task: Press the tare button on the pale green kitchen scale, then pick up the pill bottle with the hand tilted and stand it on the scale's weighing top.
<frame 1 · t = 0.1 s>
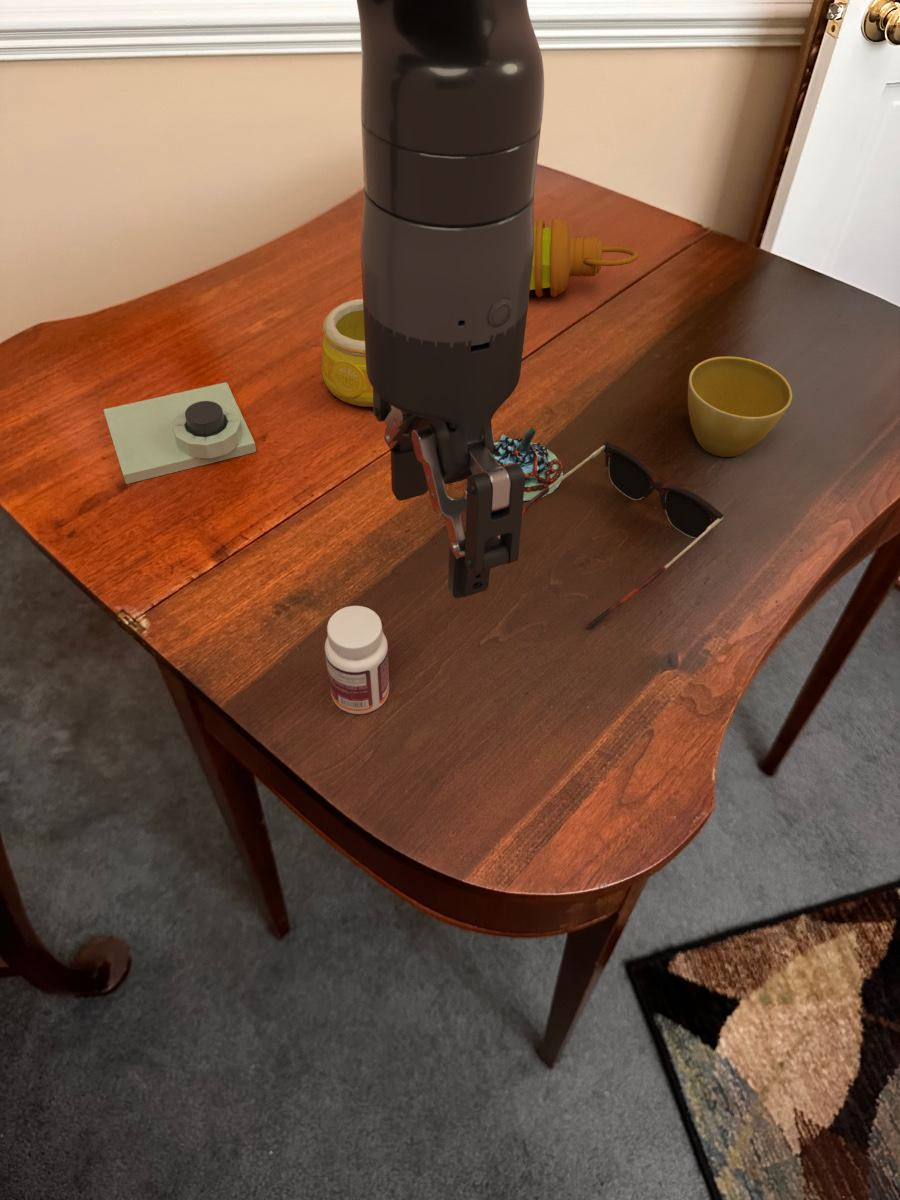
hand: (437, 540, 51), 21 cm above the table, tool pointing down, fingers open, 8 cm apart
tare button: (205, 419, 86), point 3 cm above the table, slide at 0.1 cm
pill bottle: (359, 692, 70), on the table
sunglasses: (600, 553, 81), on the table
plumb bob: (530, 292, 110), on the table
flower pot: (720, 443, 92), on the table
scale: (180, 435, 90), on the table
dish: (518, 472, 88), on the table
mug: (379, 389, 96), on the table
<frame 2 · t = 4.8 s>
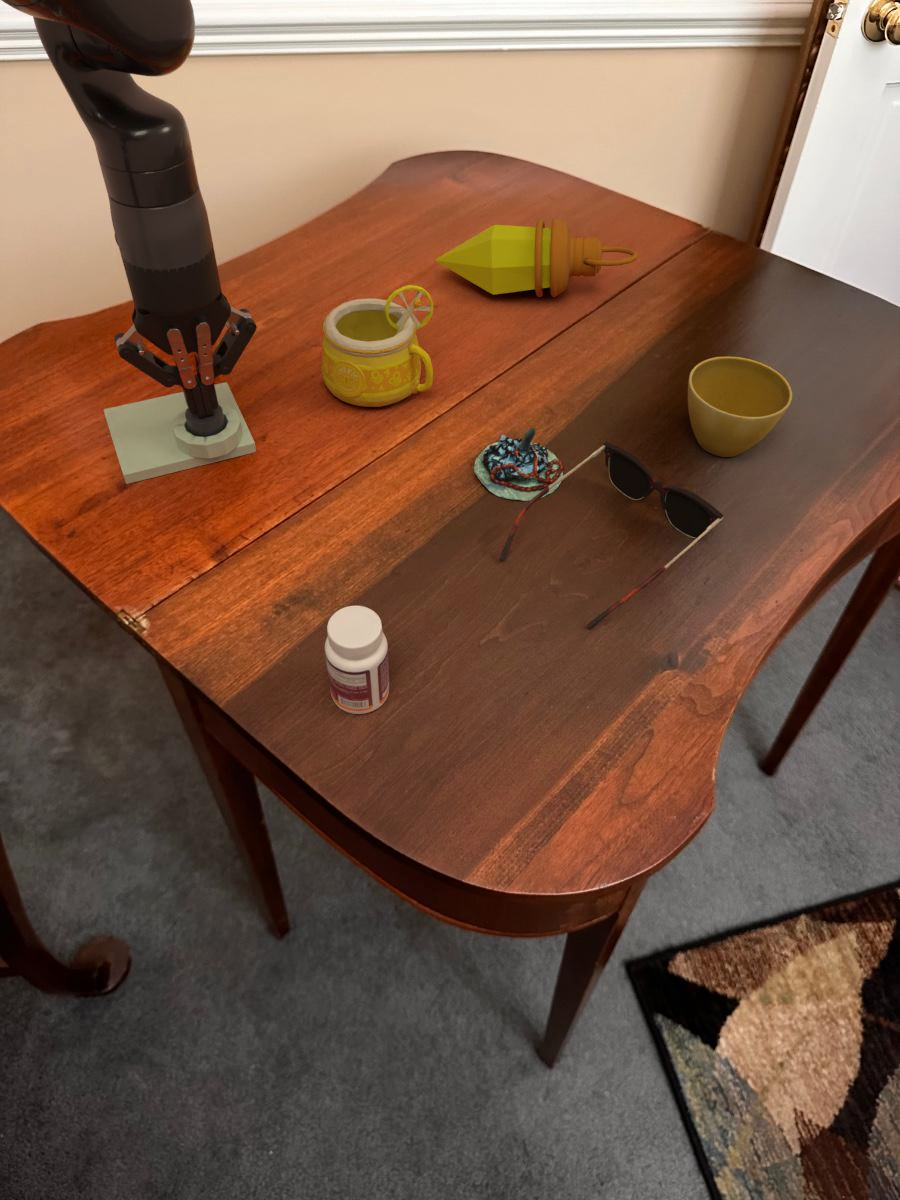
hand: (204, 411, 85), 4 cm above the table, tool pointing down, fingers closed
tare button: (205, 419, 86), point 3 cm above the table, slide at 0.1 cm, touching gripper
everything else where it was.
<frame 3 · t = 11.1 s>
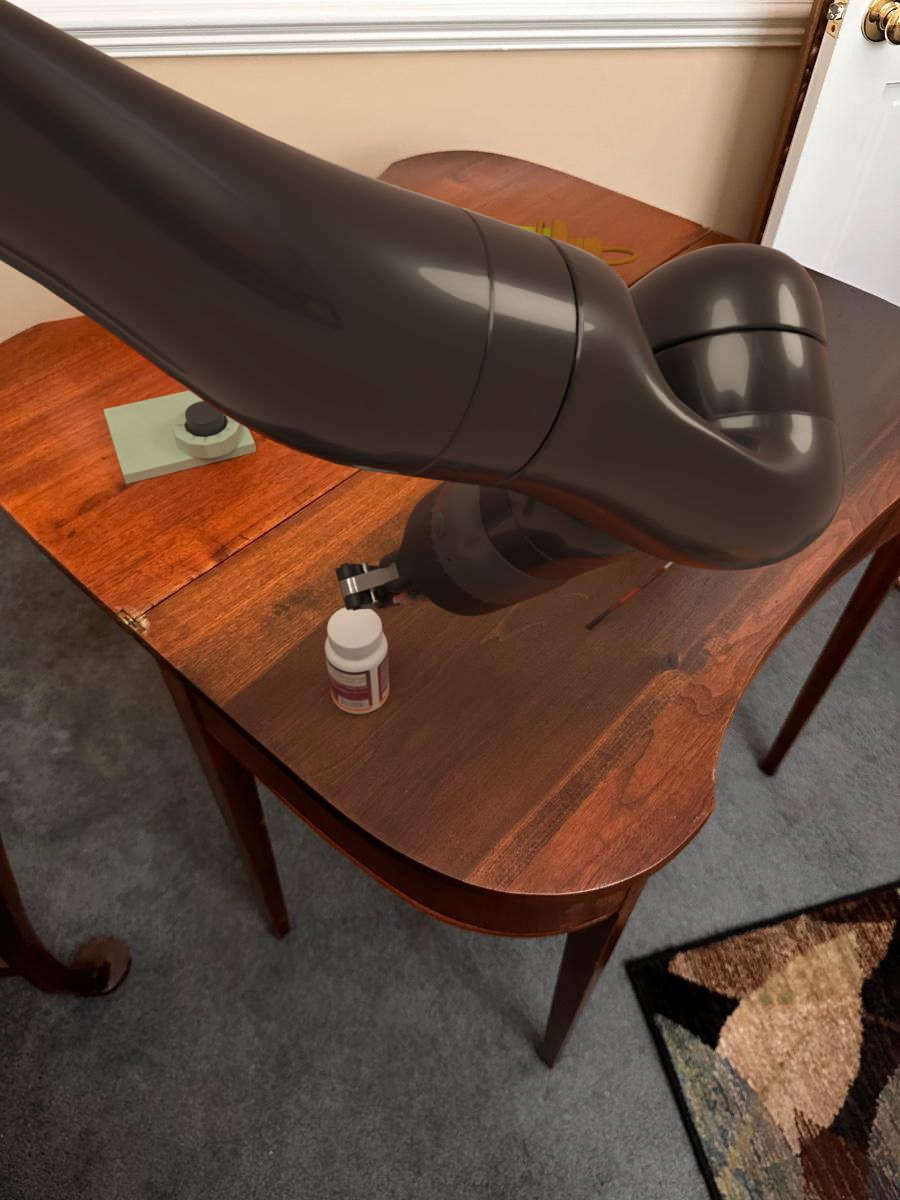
hand: (387, 592, 60), 13 cm above the table, tool tilted 35°, fingers closed
tare button: (205, 419, 86), point 4 cm above the table, slide at 0.1 cm
everything else where it was.
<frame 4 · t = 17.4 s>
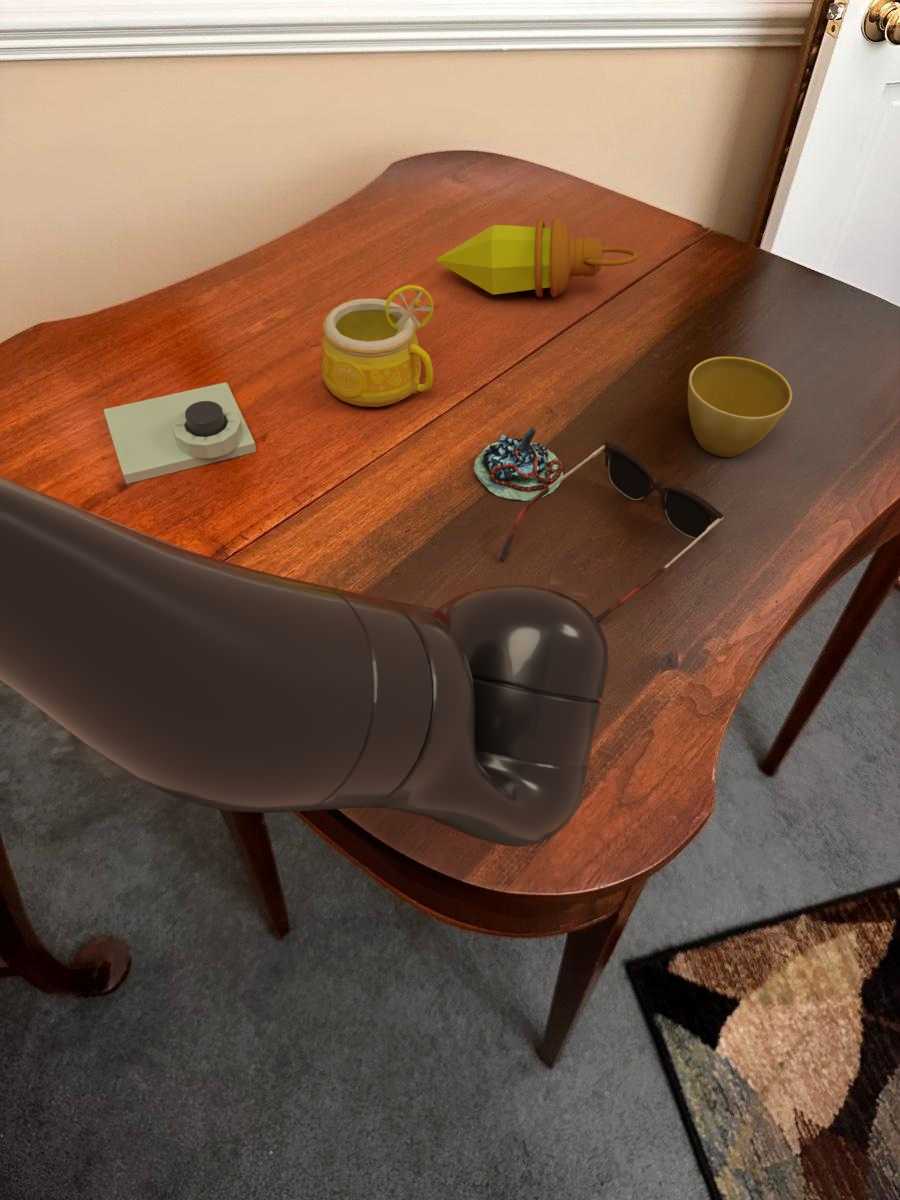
hand: (349, 642, 68), 4 cm above the table, tool tilted 45°, fingers closed on pill bottle, 4 cm apart
pill bottle: (359, 692, 70), on the table, touching gripper
everything else where it was.
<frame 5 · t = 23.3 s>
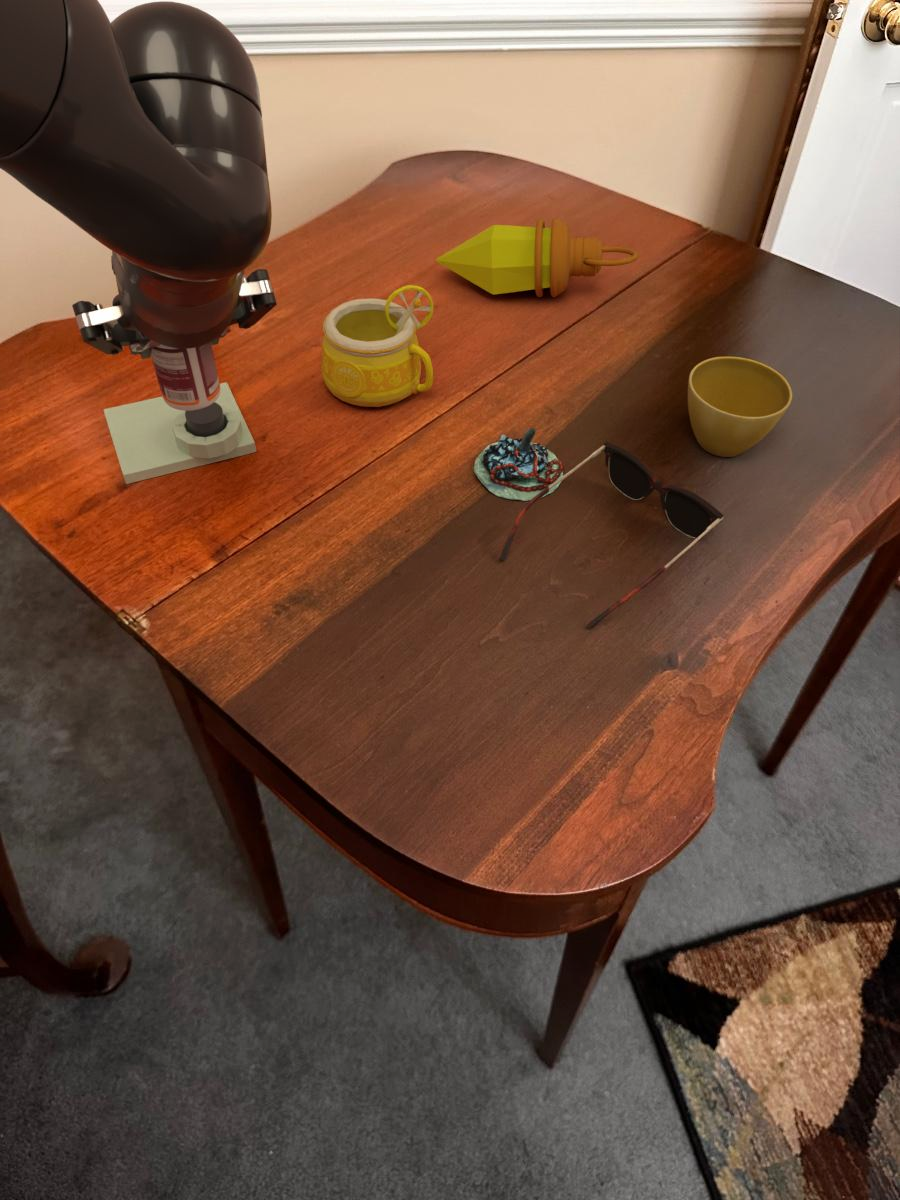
hand: (176, 338, 70), 18 cm above the table, tool tilted 45°, fingers closed on pill bottle, 4 cm apart
pill bottle: (192, 396, 72), point 14 cm above the table, touching gripper
everything else where it was.
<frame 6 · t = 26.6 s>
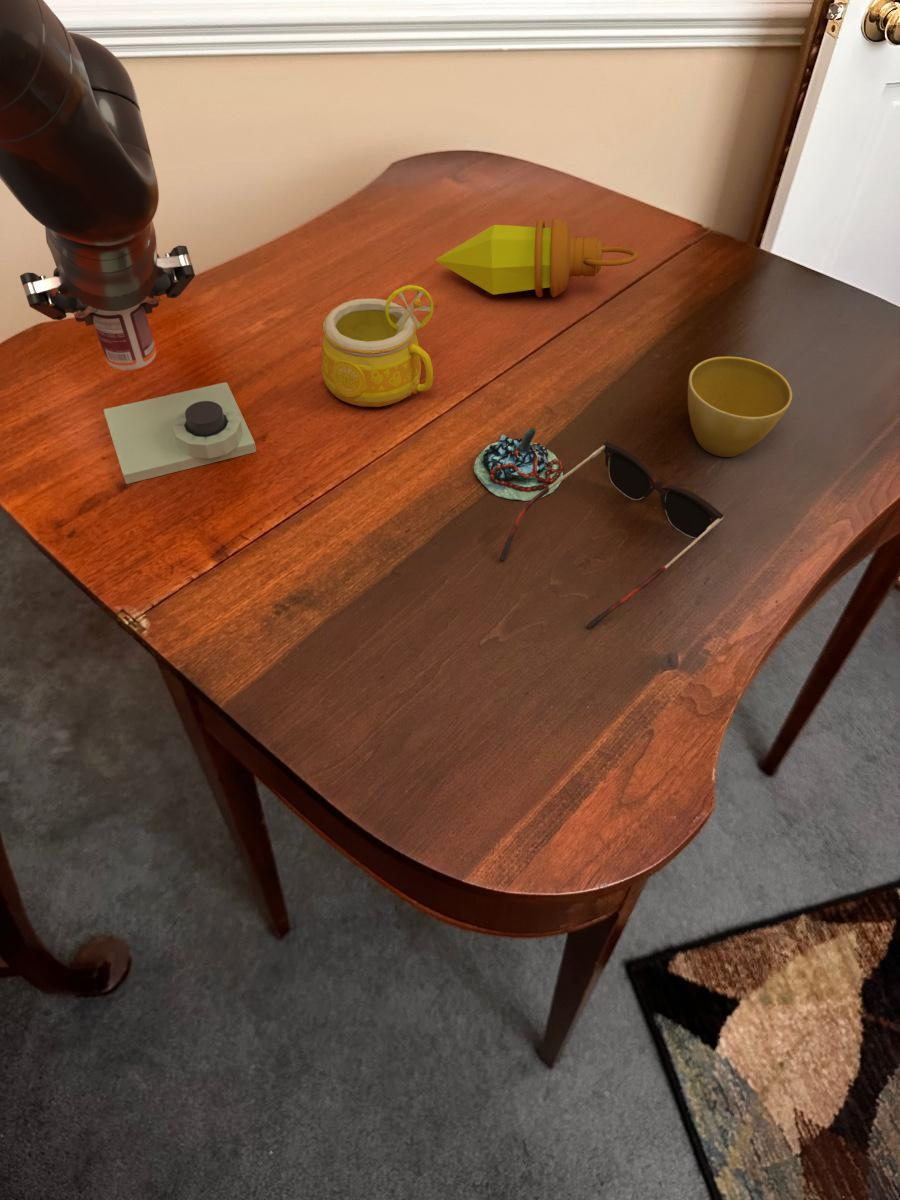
hand: (116, 308, 81), 13 cm above the table, tool tilted 45°, fingers closed on pill bottle, 4 cm apart
pill bottle: (131, 358, 83), point 9 cm above the table, touching gripper
everything else where it was.
when the fingers open (5 cm above the table, at t = 29.2 s): pill bottle stays where it is, resting on scale.
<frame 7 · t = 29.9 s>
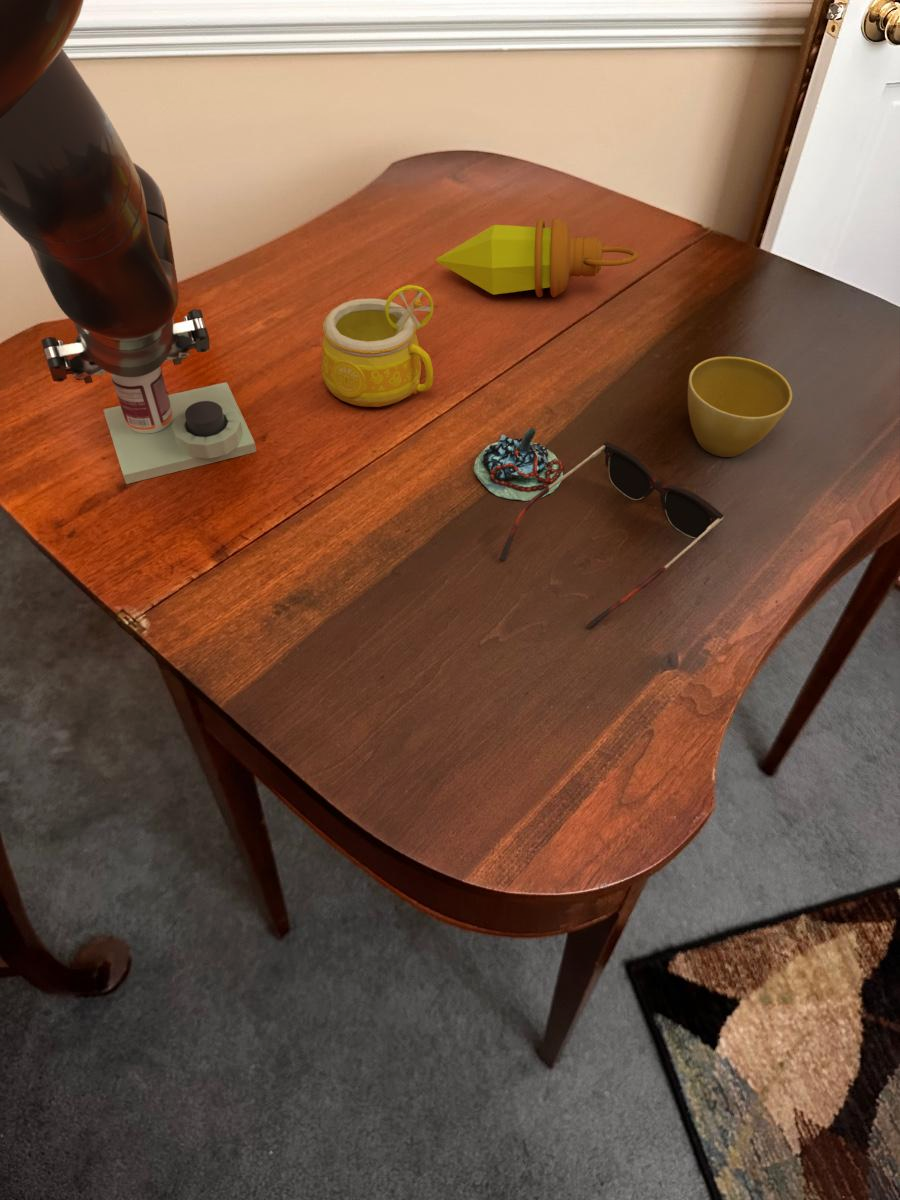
hand: (131, 363, 85), 7 cm above the table, tool tilted 45°, fingers open, 8 cm apart
pill bottle: (150, 422, 89), point 1 cm above the table, touching scale
everything else where it was.
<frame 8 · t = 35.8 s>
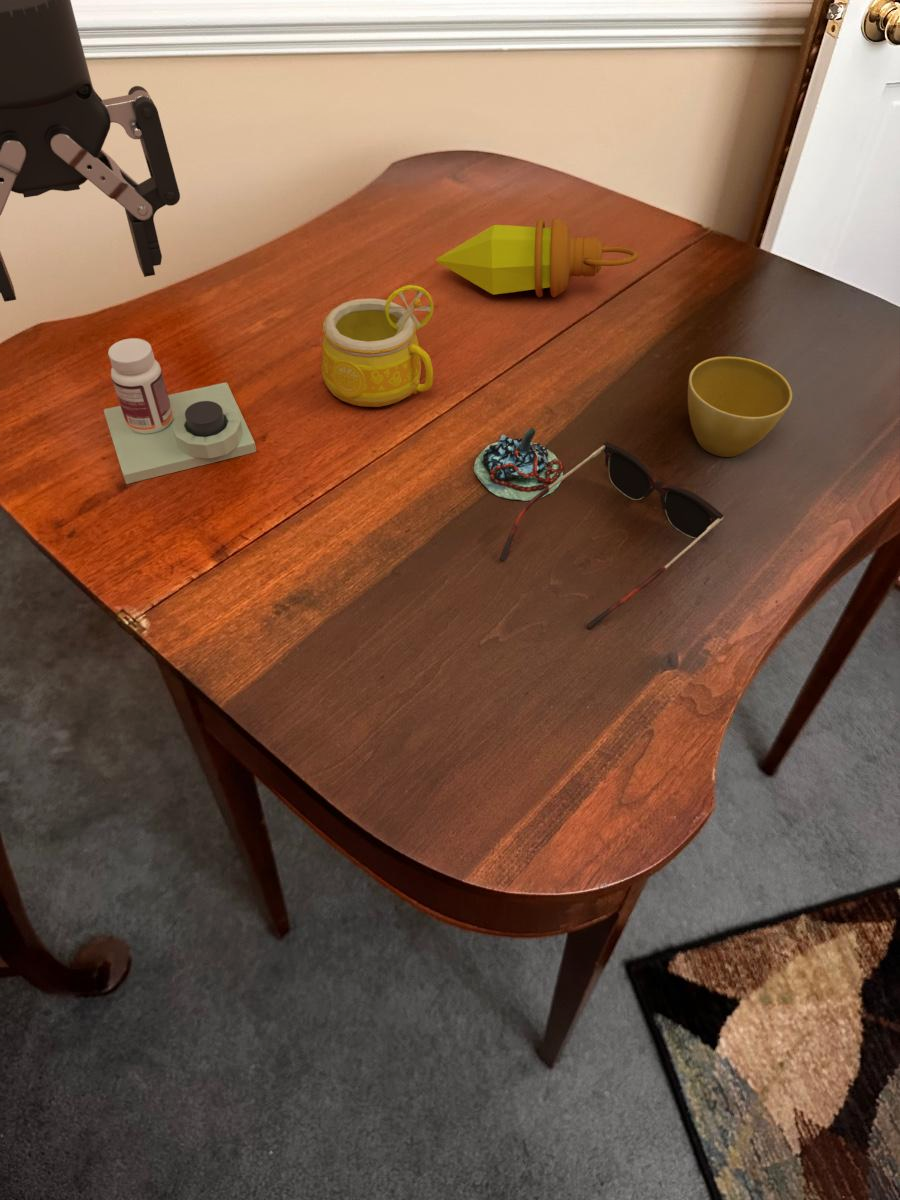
hand: (80, 282, 56), 28 cm above the table, tool pointing down, fingers open, 8 cm apart
nothing on the table moved.
at the end: tare button pushed in 1.1 cm at the most during the clip, back to where it started at the end; pill bottle inside the target area on the scale (1.2 cm from its centre), point 1.0 cm above the scale's base; pill bottle touching scale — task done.
